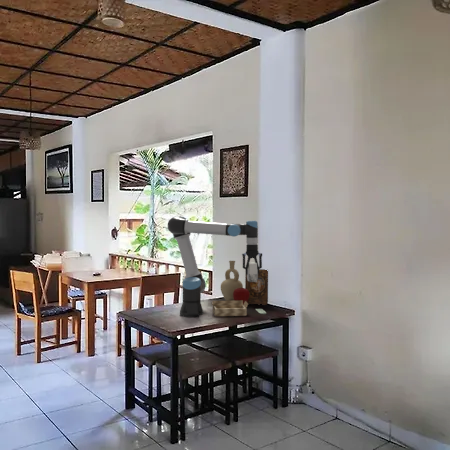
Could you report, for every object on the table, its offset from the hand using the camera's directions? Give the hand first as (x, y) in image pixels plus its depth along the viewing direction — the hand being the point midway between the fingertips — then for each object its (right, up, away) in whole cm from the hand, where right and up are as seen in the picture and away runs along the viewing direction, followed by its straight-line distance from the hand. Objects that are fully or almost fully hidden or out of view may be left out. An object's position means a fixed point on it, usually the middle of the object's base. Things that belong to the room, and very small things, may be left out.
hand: (252, 279), depth 322 cm
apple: (-6, -22, +25) cm, 34 cm away
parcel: (0, -1, 0) cm, 1 cm away
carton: (-15, -23, -8) cm, 28 cm away
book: (+5, -22, +31) cm, 38 cm away
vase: (-13, -21, +41) cm, 48 cm away
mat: (+2, -22, +3) cm, 23 cm away
